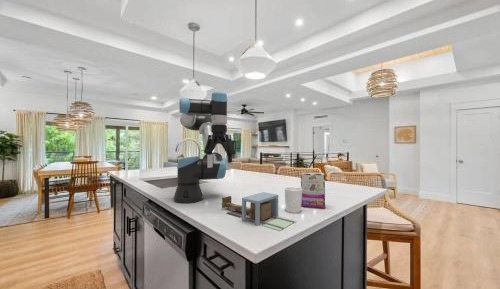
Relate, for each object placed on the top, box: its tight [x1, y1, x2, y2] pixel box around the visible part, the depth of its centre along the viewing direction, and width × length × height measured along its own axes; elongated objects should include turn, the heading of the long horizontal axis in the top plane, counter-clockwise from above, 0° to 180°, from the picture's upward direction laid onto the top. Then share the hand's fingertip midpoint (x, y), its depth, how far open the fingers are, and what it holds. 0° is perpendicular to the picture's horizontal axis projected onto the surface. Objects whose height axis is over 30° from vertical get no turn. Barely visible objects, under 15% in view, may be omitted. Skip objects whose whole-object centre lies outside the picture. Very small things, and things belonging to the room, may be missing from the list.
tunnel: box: [226, 191, 295, 231], centre depth 89 cm, size 28×14×9 cm, turn 50°
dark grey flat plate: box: [226, 210, 249, 219], centre depth 95 cm, size 8×10×1 cm
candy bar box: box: [300, 172, 326, 210], centre depth 105 cm, size 11×5×16 cm, turn 73°
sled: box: [221, 195, 271, 222], centre depth 94 cm, size 24×6×6 cm, turn 50°
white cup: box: [284, 186, 302, 214], centre depth 99 cm, size 8×8×10 cm
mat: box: [262, 216, 297, 232], centre depth 82 cm, size 8×12×1 cm, turn 140°
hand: (218, 168), depth 105 cm, fingers open, 12 cm apart
